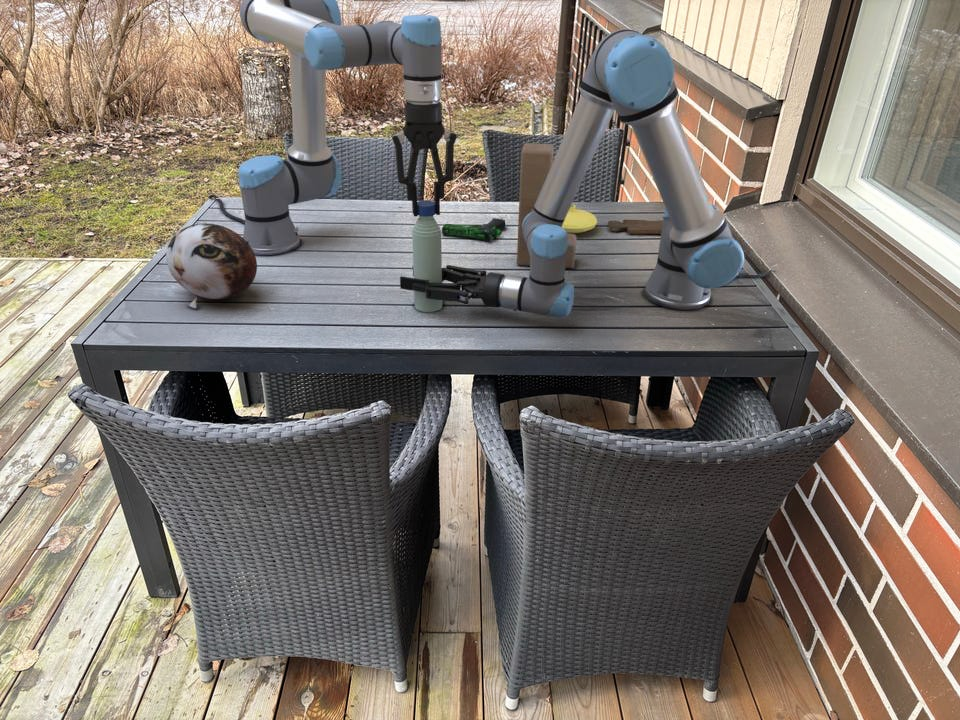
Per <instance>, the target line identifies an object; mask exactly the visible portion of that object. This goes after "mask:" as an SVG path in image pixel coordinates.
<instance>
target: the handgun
mask: <svg viewBox="0 0 960 720" xmlns="http://www.w3.org/2000/svg"><path fill="white" fill-rule="evenodd" d="M505 228H506V220H505V219H503V218H497V217H492V219H491V220H490V221H489V222H488V223H483V224H482V225H479V224H472V225H459V224H453V223H445V224H443V226H442V227H441V235H446V236H454V237H462V238H469V239H470V238H471V239H474V240H479V241H484V242H491V241H492V240H494V239H495V238H497V237H500V236H502V230H504V229H505Z"/></svg>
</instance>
